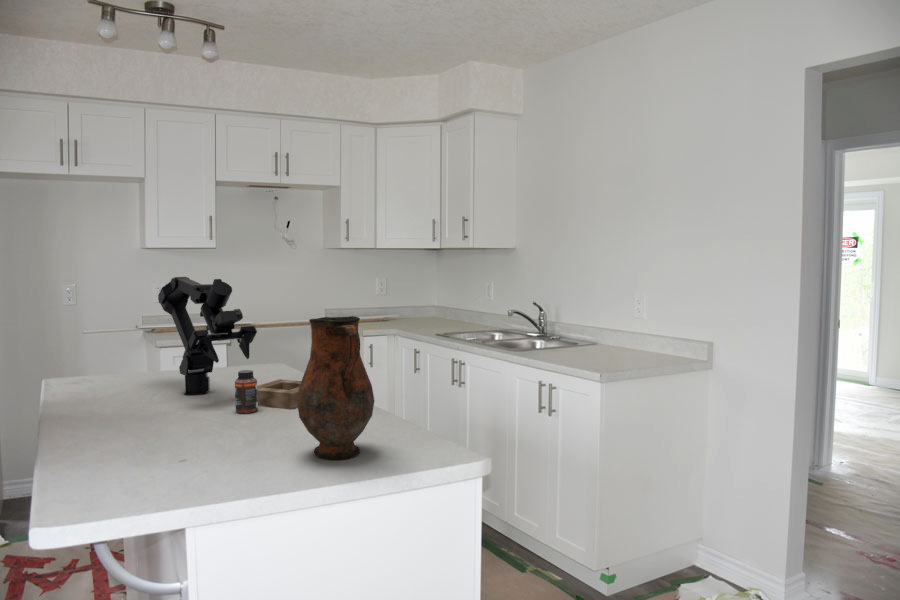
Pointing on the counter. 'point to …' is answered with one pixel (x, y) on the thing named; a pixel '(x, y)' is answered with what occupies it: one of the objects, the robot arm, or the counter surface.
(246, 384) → the supplement bottle
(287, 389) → the walnut well
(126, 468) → the counter surface
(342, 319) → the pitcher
